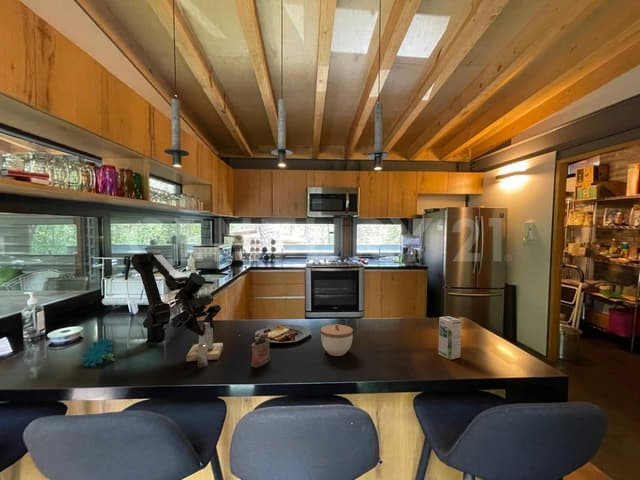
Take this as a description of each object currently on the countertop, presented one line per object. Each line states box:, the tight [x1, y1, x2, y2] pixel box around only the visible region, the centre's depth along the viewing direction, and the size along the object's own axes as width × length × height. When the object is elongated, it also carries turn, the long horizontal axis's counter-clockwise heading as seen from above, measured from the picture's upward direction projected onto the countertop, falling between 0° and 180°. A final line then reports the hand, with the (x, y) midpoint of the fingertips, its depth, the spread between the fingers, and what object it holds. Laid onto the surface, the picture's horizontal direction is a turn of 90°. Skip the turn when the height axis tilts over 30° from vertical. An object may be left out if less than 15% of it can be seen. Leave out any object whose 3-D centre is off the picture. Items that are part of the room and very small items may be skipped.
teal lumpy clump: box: [81, 338, 116, 367], centre depth 105 cm, size 11×6×10 cm
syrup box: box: [438, 315, 462, 360], centre depth 112 cm, size 6×6×14 cm
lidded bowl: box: [320, 323, 354, 357], centre depth 114 cm, size 13×13×11 cm
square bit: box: [198, 322, 214, 352], centre depth 112 cm, size 4×4×12 cm
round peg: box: [197, 344, 209, 368], centre depth 102 cm, size 3×3×7 cm
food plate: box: [254, 324, 312, 344], centre depth 132 cm, size 25×23×4 cm
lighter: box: [251, 333, 271, 368], centre depth 104 cm, size 8×3×10 cm, turn 148°
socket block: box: [185, 342, 224, 362], centre depth 112 cm, size 11×11×2 cm
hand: (208, 333), depth 111 cm, fingers open, 5 cm apart
